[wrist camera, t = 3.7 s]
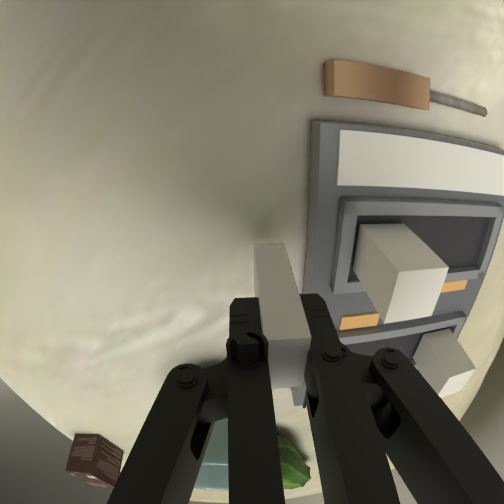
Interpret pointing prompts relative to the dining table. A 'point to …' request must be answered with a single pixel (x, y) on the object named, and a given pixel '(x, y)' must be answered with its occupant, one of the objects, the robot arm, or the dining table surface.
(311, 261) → the switch board
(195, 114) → the dining table surface
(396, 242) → the tab
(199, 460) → the robot arm
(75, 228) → the dining table surface
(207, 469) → the cup
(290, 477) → the vegetable
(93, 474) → the box
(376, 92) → the screwdriver
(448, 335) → the tab
